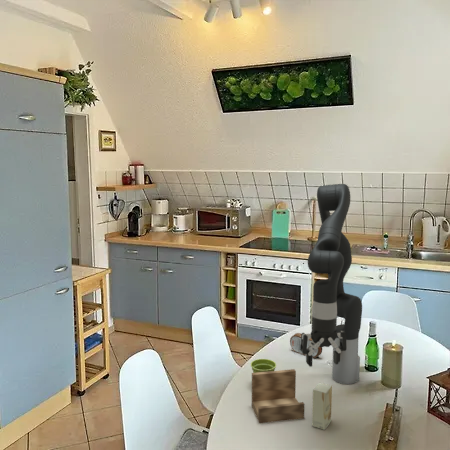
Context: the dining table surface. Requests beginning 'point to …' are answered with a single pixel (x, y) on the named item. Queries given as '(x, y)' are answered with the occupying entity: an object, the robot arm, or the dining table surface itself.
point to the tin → (296, 342)
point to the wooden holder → (275, 396)
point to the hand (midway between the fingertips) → (322, 364)
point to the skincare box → (322, 405)
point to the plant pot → (263, 365)
